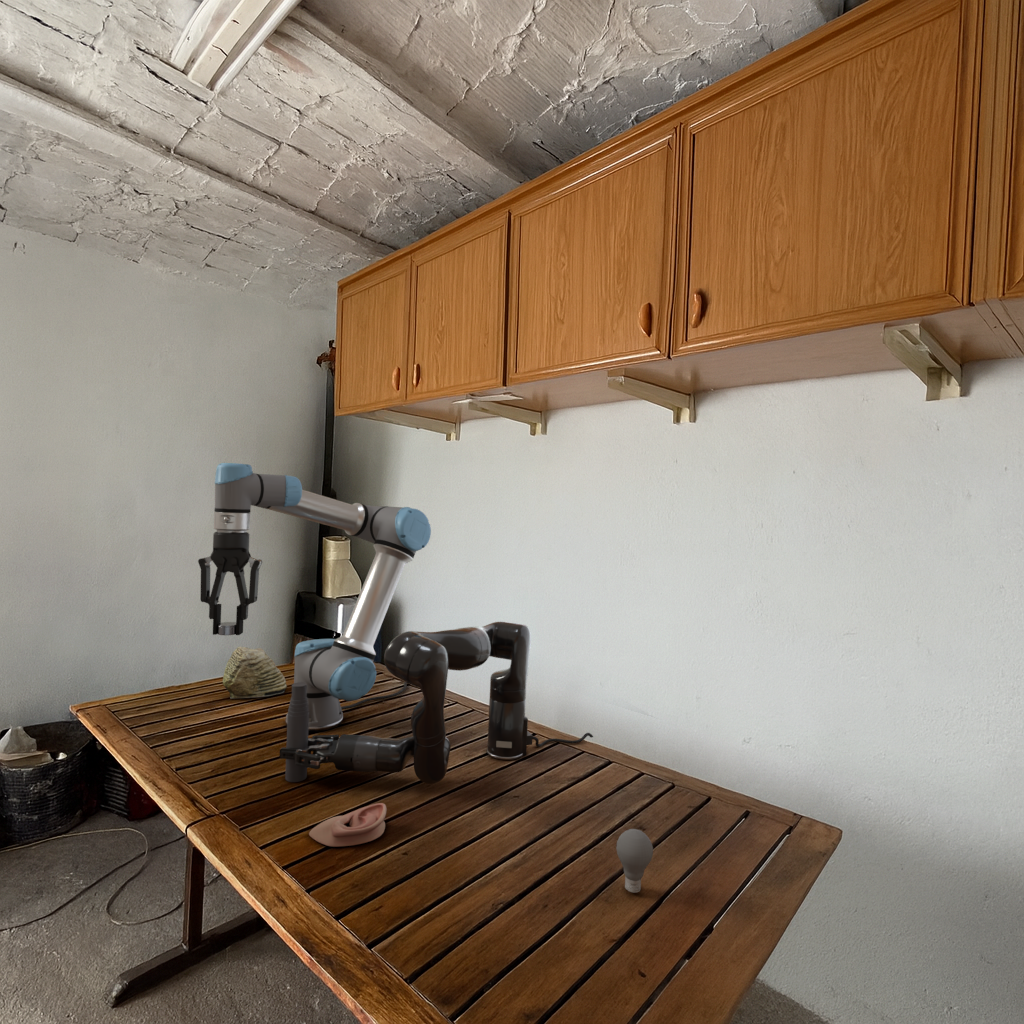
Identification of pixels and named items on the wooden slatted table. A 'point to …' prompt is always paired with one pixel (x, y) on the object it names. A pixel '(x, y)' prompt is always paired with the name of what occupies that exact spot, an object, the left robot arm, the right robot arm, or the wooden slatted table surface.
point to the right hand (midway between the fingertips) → (285, 748)
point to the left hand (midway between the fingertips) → (227, 633)
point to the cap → (227, 628)
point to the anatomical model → (352, 827)
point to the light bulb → (634, 857)
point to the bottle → (297, 730)
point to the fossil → (252, 674)
